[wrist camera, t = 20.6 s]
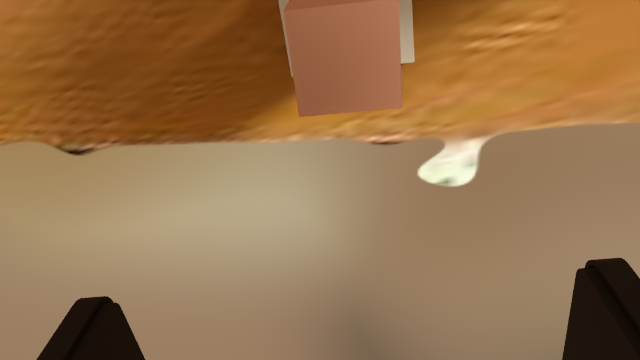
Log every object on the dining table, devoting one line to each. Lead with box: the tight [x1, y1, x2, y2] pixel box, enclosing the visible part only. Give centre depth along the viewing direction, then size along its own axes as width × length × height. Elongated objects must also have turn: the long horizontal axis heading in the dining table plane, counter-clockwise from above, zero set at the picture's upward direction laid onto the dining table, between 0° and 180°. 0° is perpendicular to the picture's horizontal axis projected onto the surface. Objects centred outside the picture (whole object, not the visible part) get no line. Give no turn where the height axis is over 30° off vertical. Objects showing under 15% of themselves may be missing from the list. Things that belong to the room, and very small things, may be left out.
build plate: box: [278, 0, 415, 77], centre depth 39 cm, size 11×11×5 cm
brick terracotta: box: [283, 0, 403, 117], centre depth 29 cm, size 6×6×6 cm
